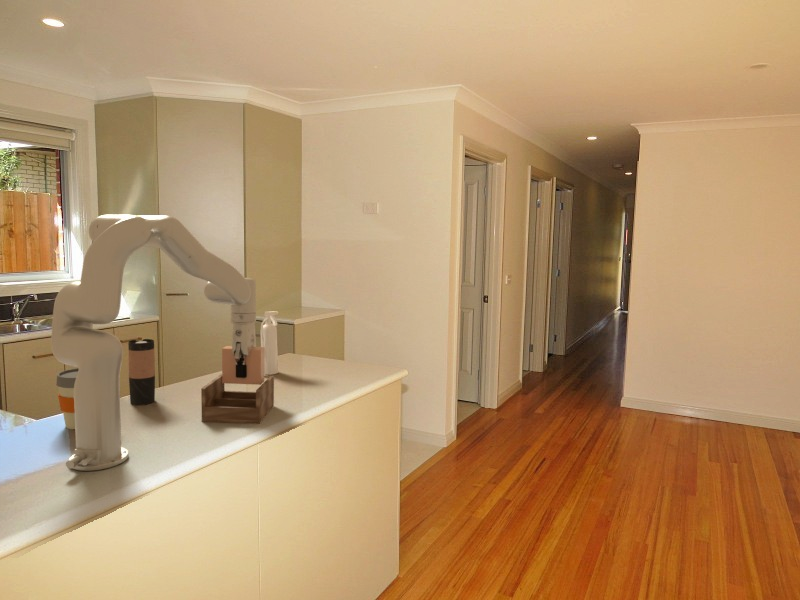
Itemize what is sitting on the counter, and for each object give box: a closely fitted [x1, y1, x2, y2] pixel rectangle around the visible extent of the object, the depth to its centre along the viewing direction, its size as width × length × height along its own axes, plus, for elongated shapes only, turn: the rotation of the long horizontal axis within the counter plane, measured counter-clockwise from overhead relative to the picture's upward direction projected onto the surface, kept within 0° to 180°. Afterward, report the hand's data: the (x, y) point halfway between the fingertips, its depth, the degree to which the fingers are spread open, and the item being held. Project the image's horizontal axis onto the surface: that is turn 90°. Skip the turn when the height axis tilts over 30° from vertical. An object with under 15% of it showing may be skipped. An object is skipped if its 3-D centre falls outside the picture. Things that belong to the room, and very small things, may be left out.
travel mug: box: [127, 338, 156, 406], centre depth 176 cm, size 8×8×20 cm
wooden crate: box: [200, 373, 275, 425], centre depth 168 cm, size 17×17×10 cm
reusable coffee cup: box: [55, 367, 79, 430], centre depth 154 cm, size 13×13×15 cm
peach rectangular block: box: [221, 345, 265, 386], centre depth 171 cm, size 4×12×11 cm, turn 89°
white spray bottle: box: [260, 310, 279, 376], centre depth 217 cm, size 7×12×25 cm, turn 157°
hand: (243, 374), depth 171 cm, fingers closed on peach rectangular block, 4 cm apart
